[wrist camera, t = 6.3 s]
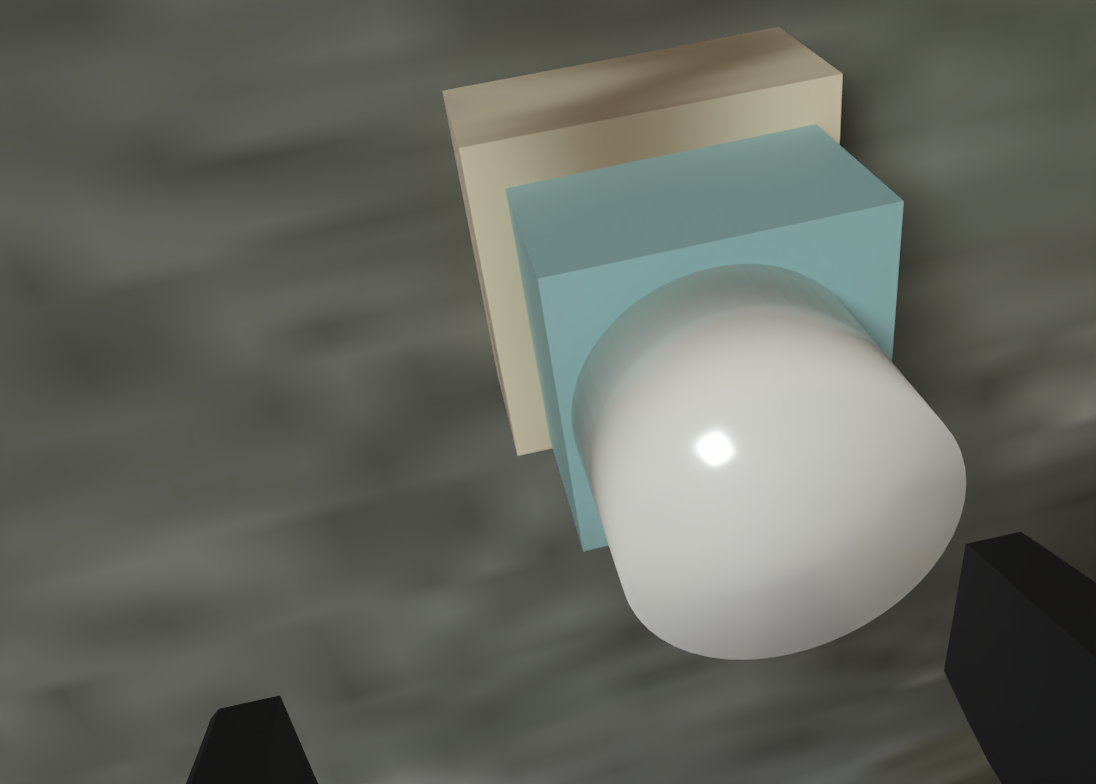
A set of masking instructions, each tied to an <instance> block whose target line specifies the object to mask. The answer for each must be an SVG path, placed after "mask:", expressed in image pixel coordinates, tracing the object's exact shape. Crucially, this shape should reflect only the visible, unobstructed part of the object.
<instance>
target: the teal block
mask: <svg viewBox="0 0 1096 784" xmlns="http://www.w3.org/2000/svg"><path fill="white" fill-rule="evenodd" d="M505 190H506V195H507V201H508V207H509V212H510V218H511V224H512V229H513V235H514V240H515V246H516V252H517V257H518V263H519V268H520V274H521V280H522V285H523V291H524V297H525V302H526V308H527V313H528V319H529V325H530V330H531V336H532V342H533V347H534V353H535V358H536V364H537V370H538V375H539V381H540V387H541V392H542V398H543V403H544V409H545V415H546V420H547V426H548V432H549V437H550V441H551V445H552V448H553V451H554V455H555V458H556V462H557V465H558V468H559V472H560V475H561V478H562V482H563V485H564V489H565V492H566V495H567V499H568V502H569V506H570V509H571V512H572V516H573V519H574V522H575V526H576V529H577V533H578V536H579V539H580V543H581V546H582V550H583V551H587V550H592V549H596V548H600V547H605V546H609V545H608V542H607V539H606V536H605V533H604V530H603V527H602V524H601V521H600V518H599V514H598V511H597V508H596V505H595V502H594V499H593V496H592V493H591V490H590V487H589V484H588V481H587V478H586V475H585V472H584V469H583V466H582V463H581V460H580V457H579V454H578V451H577V448H576V445H575V442H574V437H573V431H572V425H571V407H572V400H573V393H574V389H575V386H576V382H577V379H578V376H579V374H580V371H581V369H582V367H583V365H584V362H585V360H586V358H587V357H588V355H589V353H590V352H591V350H592V348H593V347H594V345H595V344H596V342H597V341H598V340H599V338H600V337H601V336H602V335H603V333H604V332H605V331H606V330H607V328H608V327H609V326H610V325H611V324H612V323H613V322H614V321H615V320H616V319H617V318H618V317H619V316H620V315H621V314H622V313H623V312H624V311H626V310H627V309H628V308H629V307H631V306H632V305H633V304H635V303H636V302H637V301H638V300H640V299H641V298H643V297H644V296H646V295H647V294H649V293H651V292H652V291H654V290H655V289H657V288H659V287H661V286H663V285H665V284H667V283H669V282H671V281H673V280H675V279H677V278H680V277H683V276H686V275H688V274H691V273H694V272H697V271H701V270H705V269H709V268H713V267H718V266H725V265H734V264H763V265H770V266H777V267H781V268H785V269H788V270H792V271H795V272H798V273H800V274H802V275H805V276H807V277H809V278H811V279H813V280H815V281H816V282H818V283H819V284H821V285H822V286H824V287H825V288H827V289H828V290H829V291H830V292H831V293H832V294H833V295H834V296H835V297H836V298H838V299H839V301H840V302H841V303H842V304H843V305H844V306H845V308H846V309H847V310H848V311H849V312H850V313H851V315H852V316H853V317H854V318H855V319H856V321H857V322H858V323H859V324H860V325H861V326H862V328H863V329H864V330H865V331H866V332H867V334H868V335H869V336H870V337H871V338H872V339H873V341H874V342H875V343H876V344H877V345H878V347H879V348H880V349H881V350H882V351H883V352H884V354H885V355H886V356H887V357H888V358H889V359H890V361H891V362H892V354H893V340H894V326H895V313H896V299H897V286H898V272H899V258H900V245H901V231H902V218H903V204H904V201H903V200H902V199H901V198H900V197H899V196H897V195H896V194H895V193H894V192H893V191H892V190H891V189H889V188H888V187H887V186H886V185H885V184H884V183H883V182H881V181H880V180H879V179H878V178H877V177H876V176H875V175H873V174H872V173H871V172H870V171H869V170H868V169H867V168H865V167H864V166H863V165H862V164H861V163H860V162H859V161H857V160H856V159H855V158H854V157H853V156H852V155H851V154H849V153H848V152H847V151H846V150H845V149H844V148H843V147H841V146H840V145H839V144H838V143H837V142H836V141H835V140H833V139H832V138H831V137H830V136H829V135H828V134H827V133H825V132H824V131H823V130H822V129H821V128H820V127H819V126H817V125H816V124H814V125H809V126H804V127H799V128H795V129H790V130H785V131H780V132H775V133H770V134H765V135H761V136H756V137H751V138H746V139H741V140H736V141H732V142H727V143H722V144H717V145H712V146H707V147H703V148H698V149H693V150H688V151H683V152H678V153H674V154H669V155H664V156H659V157H654V158H649V159H644V160H640V161H635V162H630V163H625V164H620V165H615V166H611V167H606V168H601V169H596V170H591V171H586V172H582V173H577V174H572V175H567V176H562V177H557V178H553V179H548V180H543V181H538V182H533V183H528V184H523V185H519V186H514V187H509V188H505Z"/></svg>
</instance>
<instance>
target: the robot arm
mask: <svg viewBox="0 0 1096 784" xmlns="http://www.w3.org/2000/svg"><path fill="white" fill-rule="evenodd" d="M944 672H945V674H946V676H947V678H948V680H949V682H950V684H951V686H952V689H953V691H954V693H955V695H956V697H957V699H958V701H959V703H960V706H961V708H962V710H963V712H964V714H965V716H966V718H967V720H968V722H969V724H970V726H971V728H972V730H973V732H974V734H975V736H976V738H977V740H978V742H979V744H980V746H981V748H982V750H983V752H984V754H985V756H986V758H987V760H988V762H989V763H990V765H991V766H992V768H993V770H994V771H995V773H996V775H997V776H998V778H999V779H1000V781H1001V783H1002V784H1096V583H1095V582H1094V581H1092V580H1091V579H1089V578H1088V577H1086V576H1085V575H1084V574H1082V573H1081V572H1079V571H1078V570H1076V569H1075V568H1073V567H1072V566H1071V565H1069V564H1068V563H1066V562H1065V561H1063V560H1062V559H1060V558H1059V557H1057V556H1056V555H1055V554H1053V553H1052V552H1050V551H1049V550H1047V549H1046V548H1044V547H1043V546H1041V545H1040V544H1038V543H1037V542H1035V541H1034V540H1032V539H1031V538H1029V537H1028V536H1026V535H1025V534H1023V533H1022V532H1018V533H1013V534H1009V535H1004V536H1000V537H995V538H991V539H986V540H982V541H977V542H973V543H968V544H966V546H965V552H964V558H963V564H962V570H961V576H960V582H959V587H958V593H957V599H956V605H955V611H954V617H953V622H952V628H951V634H950V640H949V646H948V652H947V658H946V663H945V669H944ZM186 784H318V783H317V781H316V778H315V776H314V774H313V771H312V769H311V767H310V764H309V762H308V760H307V757H306V755H305V753H304V750H303V748H302V746H301V743H300V741H299V739H298V736H297V734H296V732H295V729H294V727H293V725H292V722H291V720H290V718H289V715H288V713H287V711H286V708H285V706H284V704H283V701H282V699H281V697H280V696H276V697H271V698H267V699H262V700H257V701H253V702H248V703H244V704H239V705H235V706H230V707H226V708H221V709H218V711H217V712H216V713H215V714H214V716H213V717H212V718H211V720H210V723H209V725H208V728H207V731H206V733H205V736H204V739H203V741H202V744H201V747H200V749H199V752H198V754H197V757H196V759H195V762H194V765H193V767H192V770H191V772H190V775H189V777H188V780H187V782H186Z"/></svg>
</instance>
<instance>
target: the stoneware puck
mask: <svg viewBox="0 0 1096 784" xmlns="http://www.w3.org/2000/svg"><path fill="white" fill-rule="evenodd" d="M571 425H572V431H573V437H574V442H575V445H576V448H577V451H578V454H579V457H580V460H581V463H582V466H583V469H584V472H585V475H586V478H587V481H588V484H589V487H590V490H591V493H592V496H593V499H594V502H595V505H596V508H597V511H598V514H599V518H600V521H601V524H602V527H603V530H604V533H605V536H606V539H607V542H608V545H609V548H610V551H611V554H612V557H613V560H614V563H615V566H616V569H617V572H618V575H619V578H620V581H621V584H622V587H623V590H624V593H625V595H626V598H627V601H628V603H629V605H630V606H631V608H632V610H633V611H634V613H635V615H636V616H637V617H638V619H639V620H640V621H641V622H642V623H643V624H644V625H645V626H646V627H647V628H648V629H649V630H650V631H651V632H653V633H654V634H655V635H656V636H658V637H659V638H660V639H662V640H664V641H666V642H668V643H669V644H671V645H673V646H675V647H677V648H680V649H683V650H685V651H688V652H690V653H694V654H698V655H702V656H706V657H712V658H720V659H733V660H751V659H764V658H771V657H777V656H783V655H789V654H793V653H797V652H800V651H804V650H808V649H811V648H814V647H817V646H820V645H823V644H825V643H828V642H831V641H833V640H835V639H837V638H840V637H842V636H844V635H847V634H849V633H851V632H852V631H854V630H856V629H858V628H860V627H862V626H864V625H865V624H867V623H869V622H870V621H872V620H873V619H875V618H876V617H878V616H880V615H881V614H883V613H884V612H886V611H887V610H888V609H890V608H891V607H892V606H893V605H895V604H896V603H897V602H899V601H900V600H901V599H902V598H903V597H905V596H906V595H907V594H908V593H909V592H910V591H911V590H912V589H913V588H914V587H915V586H917V585H918V583H919V582H920V581H921V580H922V579H923V578H924V577H925V576H926V575H927V573H928V572H929V571H930V570H931V569H932V568H933V566H934V565H935V563H936V562H937V561H938V559H939V558H940V557H941V555H942V554H943V552H944V551H945V549H946V547H947V545H948V544H949V542H950V540H951V538H952V537H953V534H954V532H955V530H956V527H957V525H958V523H959V520H960V517H961V513H962V509H963V506H964V502H965V493H966V471H965V465H964V461H963V457H962V453H961V451H960V449H959V446H958V444H957V442H956V440H955V438H954V436H953V435H952V434H951V432H950V431H949V430H948V428H947V427H946V426H945V424H944V423H943V422H942V421H941V420H940V418H939V417H938V416H937V415H936V414H935V413H934V411H933V410H932V409H931V408H930V407H929V405H928V404H927V403H926V402H925V401H924V400H923V398H922V397H921V396H920V395H919V394H918V392H917V391H916V390H915V389H914V388H913V387H912V385H911V384H910V383H909V382H908V381H907V380H906V378H905V377H904V376H903V375H902V374H901V372H900V371H899V370H898V369H897V368H896V367H895V365H894V364H893V363H892V362H891V361H890V359H889V358H888V357H887V356H886V355H885V354H884V352H883V351H882V350H881V349H880V348H879V347H878V345H877V344H876V343H875V342H874V341H873V339H872V338H871V337H870V336H869V335H868V334H867V332H866V331H865V330H864V329H863V328H862V326H861V325H860V324H859V323H858V322H857V321H856V319H855V318H854V317H853V316H852V315H851V313H850V312H849V311H848V310H847V309H846V308H845V306H844V305H843V304H842V303H841V302H840V301H839V299H838V298H836V297H835V296H834V295H833V294H832V293H831V292H830V291H829V290H828V289H827V288H825V287H824V286H822V285H821V284H819V283H818V282H816V281H815V280H813V279H811V278H809V277H807V276H805V275H802V274H800V273H798V272H795V271H792V270H788V269H785V268H781V267H777V266H770V265H763V264H734V265H725V266H718V267H713V268H709V269H705V270H701V271H697V272H694V273H691V274H688V275H686V276H683V277H680V278H677V279H675V280H673V281H671V282H669V283H667V284H665V285H663V286H661V287H659V288H657V289H655V290H654V291H652V292H651V293H649V294H647V295H646V296H644V297H643V298H641V299H640V300H638V301H637V302H636V303H635V304H633V305H632V306H631V307H629V308H628V309H627V310H626V311H624V312H623V313H622V314H621V315H620V316H619V317H618V318H617V319H616V320H615V321H614V322H613V323H612V324H611V325H610V326H609V327H608V328H607V330H606V331H605V332H604V333H603V335H602V336H601V337H600V338H599V340H598V341H597V342H596V344H595V345H594V347H593V348H592V350H591V352H590V353H589V355H588V357H587V358H586V360H585V362H584V365H583V367H582V369H581V371H580V374H579V376H578V379H577V382H576V386H575V389H574V393H573V400H572V407H571Z"/></svg>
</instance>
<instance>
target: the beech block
mask: <svg viewBox="0 0 1096 784" xmlns="http://www.w3.org/2000/svg"><path fill="white" fill-rule="evenodd" d="M842 79H843V74H842V73H841V72H840V71H838V70H837V69H836V68H834V67H833V66H831V65H830V64H829V63H827V62H826V61H825V60H823V59H822V58H821V57H819V56H818V55H816V54H815V53H814V52H812V51H811V50H810V49H808V48H807V47H806V46H804V45H803V44H801V43H800V42H799V41H797V40H796V39H795V38H793V37H792V36H791V35H789V34H788V33H786V32H785V31H784V30H782V29H781V28H780V27H777V28H771V29H766V30H761V31H756V32H750V33H745V34H740V35H735V36H729V37H724V38H719V39H713V40H708V41H703V42H698V43H692V44H687V45H682V46H677V47H671V48H666V49H661V50H655V51H650V52H645V53H640V54H634V55H629V56H624V57H619V58H613V59H608V60H603V61H598V62H592V63H587V64H582V65H576V66H571V67H566V68H561V69H555V70H550V71H545V72H540V73H534V74H529V75H524V76H519V77H513V78H508V79H503V80H497V81H492V82H487V83H482V84H476V85H471V86H466V87H461V88H455V89H450V90H445V91H442V92H443V97H444V102H445V107H446V112H447V117H448V123H449V128H450V133H451V138H452V143H453V148H454V153H455V158H456V164H457V169H458V174H459V179H460V184H461V189H462V194H463V199H464V205H465V210H466V215H467V220H468V225H469V230H470V235H471V241H472V246H473V251H474V256H475V261H476V266H477V271H478V276H479V282H480V287H481V292H482V297H483V302H484V307H485V312H486V317H487V323H488V328H489V333H490V338H491V343H492V348H493V353H494V358H495V364H496V369H497V374H498V378H499V382H500V386H501V391H502V395H503V399H504V403H505V407H506V411H507V415H508V419H509V423H510V427H511V431H512V435H513V439H514V443H515V447H516V451H517V455H518V456H519V455H524V454H528V453H533V452H538V451H542V450H547V449H551V448H552V445H551V441H550V437H549V432H548V426H547V420H546V415H545V409H544V403H543V398H542V392H541V387H540V381H539V375H538V370H537V364H536V358H535V353H534V347H533V342H532V336H531V330H530V325H529V319H528V313H527V308H526V302H525V297H524V291H523V285H522V280H521V274H520V268H519V263H518V257H517V252H516V246H515V240H514V235H513V229H512V224H511V218H510V212H509V207H508V201H507V195H506V190H505V188H509V187H514V186H519V185H523V184H528V183H533V182H538V181H543V180H548V179H553V178H557V177H562V176H567V175H572V174H577V173H582V172H586V171H591V170H596V169H601V168H606V167H611V166H615V165H620V164H625V163H630V162H635V161H640V160H644V159H649V158H654V157H659V156H664V155H669V154H674V153H678V152H683V151H688V150H693V149H698V148H703V147H707V146H712V145H717V144H722V143H727V142H732V141H736V140H741V139H746V138H751V137H756V136H761V135H765V134H770V133H775V132H780V131H785V130H790V129H795V128H799V127H804V126H809V125H814V124H816V125H817V126H819V127H820V128H821V129H822V130H823V131H824V132H825V133H827V134H828V135H829V136H830V137H831V138H832V139H833V140H835V141H836V142H837V143H838V144H839V145H840V126H841V103H842Z"/></svg>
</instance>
